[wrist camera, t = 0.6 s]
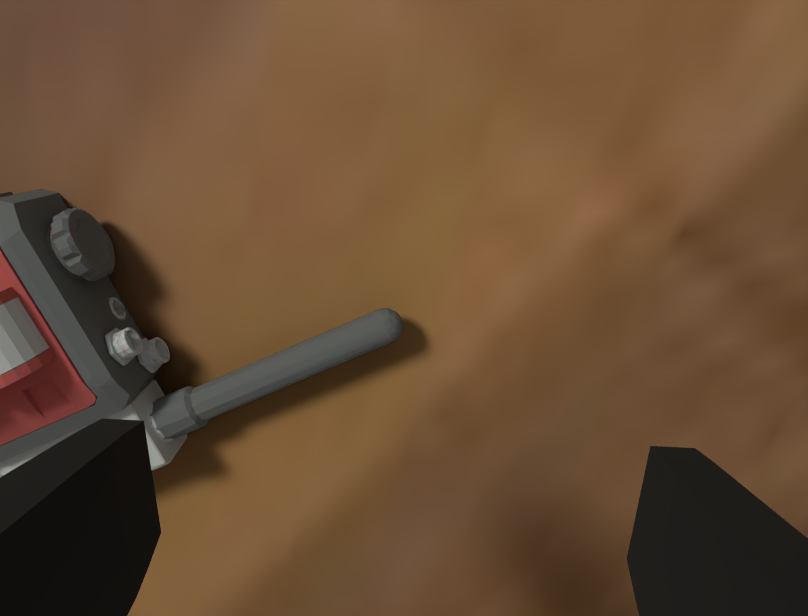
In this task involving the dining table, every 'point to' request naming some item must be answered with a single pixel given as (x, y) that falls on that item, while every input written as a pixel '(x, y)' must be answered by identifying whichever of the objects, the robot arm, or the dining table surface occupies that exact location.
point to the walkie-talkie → (113, 342)
